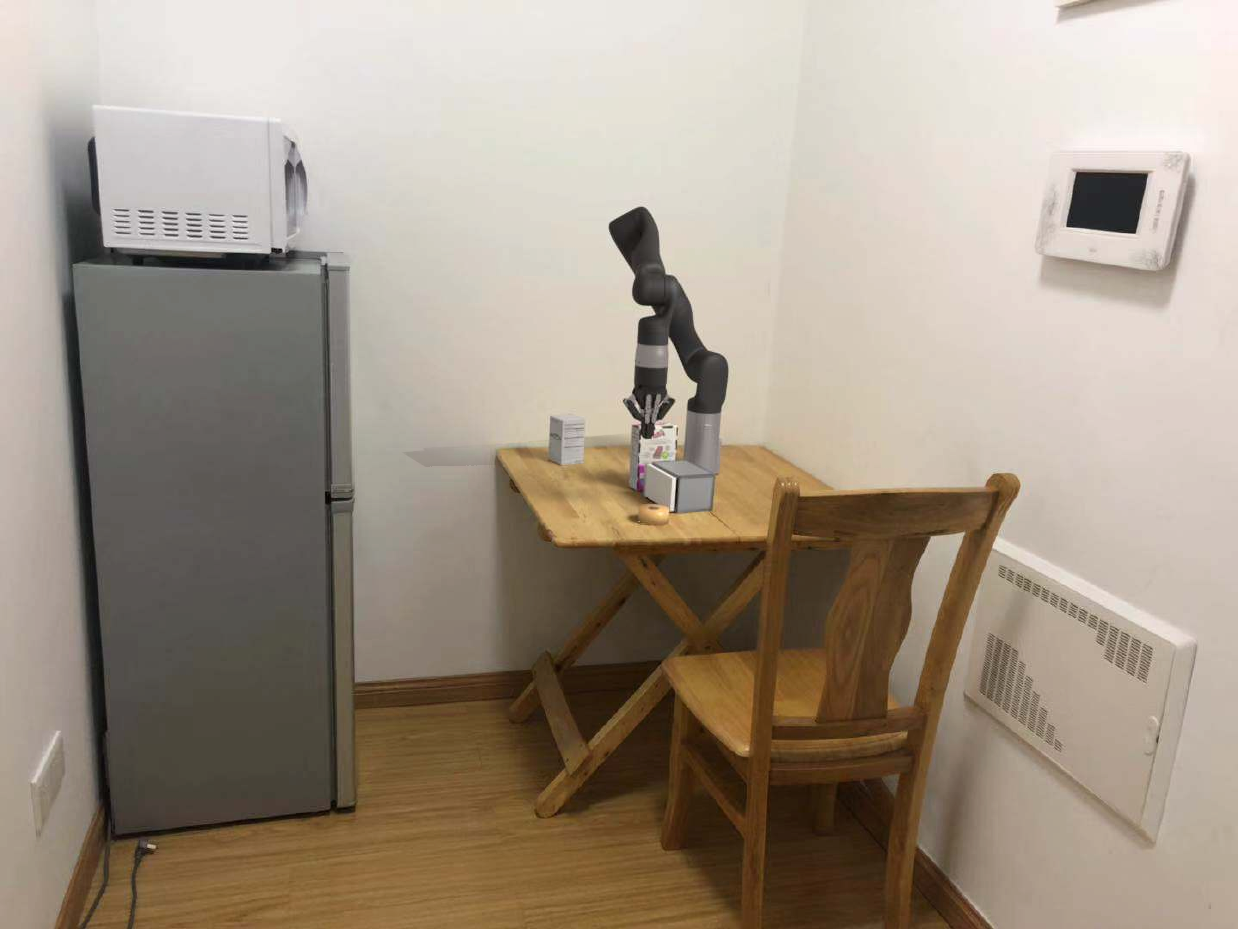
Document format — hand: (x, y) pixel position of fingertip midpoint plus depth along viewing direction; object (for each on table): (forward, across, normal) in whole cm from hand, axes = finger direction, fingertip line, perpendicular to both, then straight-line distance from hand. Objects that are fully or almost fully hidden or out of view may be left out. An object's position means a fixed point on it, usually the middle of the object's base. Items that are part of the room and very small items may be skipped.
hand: (647, 438), depth 229 cm
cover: (+17, +6, +3) cm, 19 cm away
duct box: (+17, +12, +2) cm, 21 cm away
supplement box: (+18, +1, +48) cm, 51 cm away
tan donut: (+17, -2, -8) cm, 19 cm away
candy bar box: (+18, +12, +17) cm, 27 cm away
